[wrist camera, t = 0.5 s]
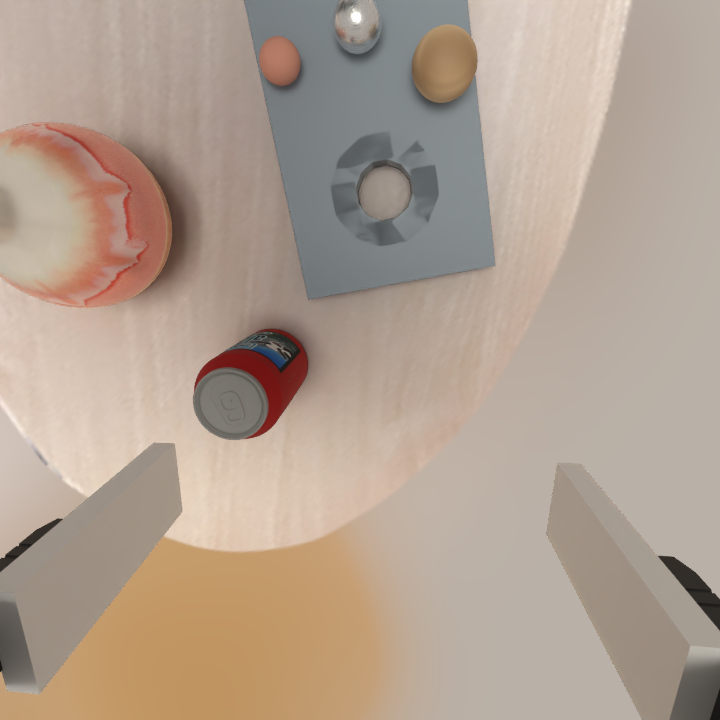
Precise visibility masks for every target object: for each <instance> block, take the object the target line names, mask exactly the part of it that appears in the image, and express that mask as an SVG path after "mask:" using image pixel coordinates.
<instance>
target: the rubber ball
mask: <svg viewBox="0 0 720 720" xmlns="http://www.w3.org/2000/svg"><path fill="white" fill-rule="evenodd" d="M259 63H260V68H261V70H262V72H263V74H264V76H265V77H266V78H267V79H268V80H269V81H270V82H271V83H273V84H275V85H278V86H286V85H289V84H291V83H292V82H293V81H295V79H296V78H297V76H298V74H299V72H300V67H301V61H300V55H299V52H298V50H297V48H296V47H295V45H294V44H293V43H292V42H291V41H290V40H288V39H287V38H285V37H282V36H274V37H271V38H269V39H268V40H266V41H265V42H264V44H263V45H262V47H261V49H260V53H259Z"/></svg>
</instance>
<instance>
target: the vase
mask: <svg viewBox="0 0 720 720" xmlns="http://www.w3.org/2000/svg"><path fill="white" fill-rule="evenodd" d="M171 241H172V221H171V215H170V210H169V207H168V204H167V201H166V198H165V195H164V193H163V191H162V189H161V187H160V185H159V183H158V182H157V180H156V179H155V177H154V176H153V174H152V173H151V171H150V170H149V169H148V168H147V167H146V166H145V165H144V164H143V162H142V161H141V160H140V159H139V158H138V157H137V156H135V155H134V154H133V153H132V152H131V151H129V150H128V149H127V148H126V147H124V146H123V145H121V144H120V143H118V142H116V141H115V140H113V139H111V138H110V137H107V136H105V135H103V134H101V133H98V132H96V131H93V130H91V129H88V128H84V127H80V126H76V125H72V124H65V123H51V122H40V123H32V124H26V125H21V126H17V127H14V128H11V129H8V130H6V131H4V132H2V133H0V277H2V278H3V279H4V280H5V281H7V282H8V283H9V284H11V285H12V286H14V287H16V288H17V289H19V290H21V291H23V292H24V293H26V294H28V295H30V296H33V297H35V298H38V299H40V300H43V301H46V302H49V303H53V304H57V305H61V306H67V307H78V308H95V307H105V306H110V305H114V304H117V303H121V302H124V301H126V300H128V299H130V298H132V297H134V296H136V295H138V294H139V293H141V292H142V291H144V290H145V289H146V288H147V287H148V286H149V285H150V284H151V283H152V282H153V281H154V280H155V279H156V278H157V277H158V275H159V274H160V272H161V271H162V269H163V267H164V265H165V263H166V261H167V259H168V255H169V251H170V248H171Z"/></svg>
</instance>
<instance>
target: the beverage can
mask: <svg viewBox="0 0 720 720" xmlns="http://www.w3.org/2000/svg"><path fill="white" fill-rule="evenodd" d="M307 370H308V360H307V356H306V353H305V351H304V349H303V347H302V345H301V344H300V343H299V341H298V340H297V339H295V338H294V337H293V336H292V335H290V334H288V333H286V332H284V331H281V330H277V329H265V330H261V331H258V332H256V333H254V334H253V335H251V336H249V337H247V338H245V339H244V340H242V341H240V342H239V343H237V344H236V345H234V346H232V347H231V348H229V349H227V350H226V351H224V352H223V353H221V354H220V355H218V356H217V357H215V358H213V359H212V360H210V361H209V362H208V363H207V364H206V365H205V366H204V367H203V368H202V369H201V371H200V372H199V374H198V376H197V379H196V382H195V387H194V395H193V405H194V410H195V413H196V416H197V418H198V419H199V421H200V422H201V424H202V425H203V426H204V427H205V428H206V429H207V430H208V431H209V432H211V433H212V434H214V435H216V436H218V437H220V438H224V439H228V440H240V439H248V438H253V437H257V436H259V435H262V434H264V433H265V432H267V431H268V430H269V429H270V428H272V426H273V425H274V424H275V423H276V422H277V420H278V419H279V417H280V416H281V415H282V413H283V412H284V410H285V409H286V407H287V406H288V404H289V403H290V401H291V400H292V398H293V397H294V395H295V394H296V393H297V391H298V389H299V388H300V386H301V385H302V383H303V381H304V380H305V377H306V375H307Z"/></svg>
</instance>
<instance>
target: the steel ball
mask: <svg viewBox="0 0 720 720" xmlns="http://www.w3.org/2000/svg"><path fill="white" fill-rule="evenodd" d="M332 23H333V31H334V35H335V37H336V40H337V41H338V43H339V44H340V46H341V47H342V48H343V49H344V50H346V51H348V52H350V53H353V54H362V53H365V52H367V51H369V50H370V49H371V48H373V46H374V45H375V44H376V43H377V41H378V39H379V37H380V34H381V30H382V16H381V11H380V8H379V6H378V4H377V2H376V1H375V0H339V2H338V3H337V5H336V7H335V10H334V13H333V21H332Z"/></svg>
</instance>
